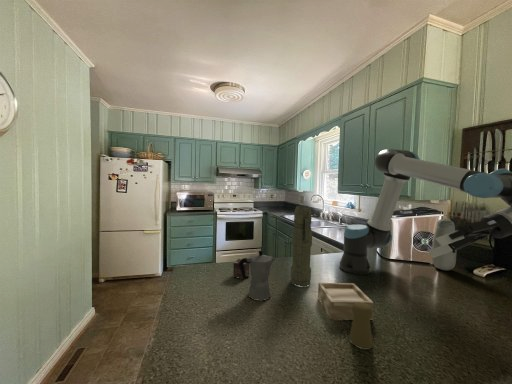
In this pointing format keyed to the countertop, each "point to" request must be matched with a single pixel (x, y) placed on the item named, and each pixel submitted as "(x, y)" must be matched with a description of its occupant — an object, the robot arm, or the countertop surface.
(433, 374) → the countertop surface
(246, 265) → the box
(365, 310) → the cork
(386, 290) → the countertop surface
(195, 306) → the countertop surface
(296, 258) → the thermos
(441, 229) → the grey rounded cylinder
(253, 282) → the coffeepot
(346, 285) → the oak stand
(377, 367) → the countertop surface
